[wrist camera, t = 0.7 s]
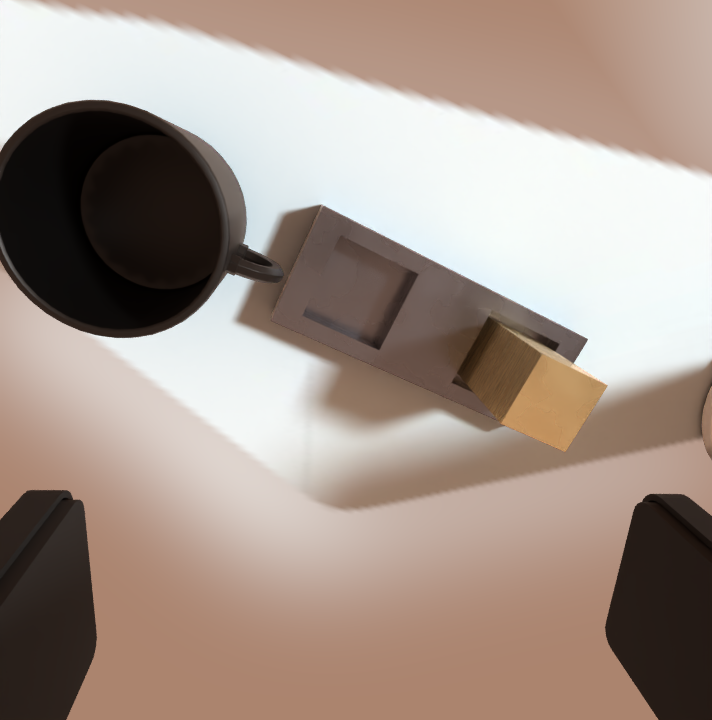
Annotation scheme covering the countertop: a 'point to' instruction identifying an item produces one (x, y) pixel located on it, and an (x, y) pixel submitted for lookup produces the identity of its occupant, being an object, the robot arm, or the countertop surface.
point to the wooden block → (529, 385)
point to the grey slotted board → (399, 308)
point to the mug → (120, 219)
